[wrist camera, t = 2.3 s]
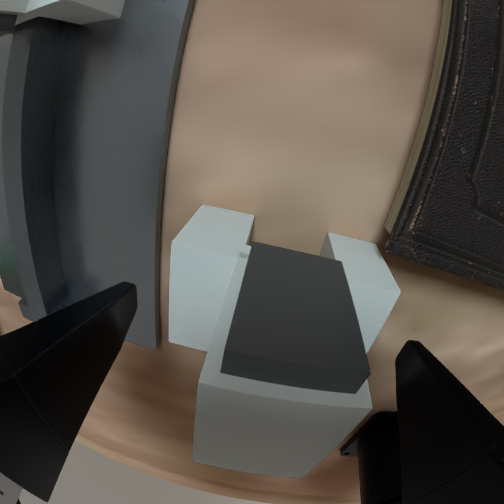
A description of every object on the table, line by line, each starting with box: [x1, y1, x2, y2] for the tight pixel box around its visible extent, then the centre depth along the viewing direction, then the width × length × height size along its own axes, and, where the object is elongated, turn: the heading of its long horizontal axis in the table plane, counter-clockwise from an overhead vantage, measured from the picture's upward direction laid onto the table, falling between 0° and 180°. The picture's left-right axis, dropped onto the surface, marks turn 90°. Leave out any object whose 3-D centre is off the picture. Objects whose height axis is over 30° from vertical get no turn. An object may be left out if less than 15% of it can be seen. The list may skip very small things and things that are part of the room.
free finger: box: [169, 205, 401, 479], centre depth 8 cm, size 5×7×8 cm
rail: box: [0, 0, 195, 350], centre depth 8 cm, size 22×12×3 cm, turn 170°
